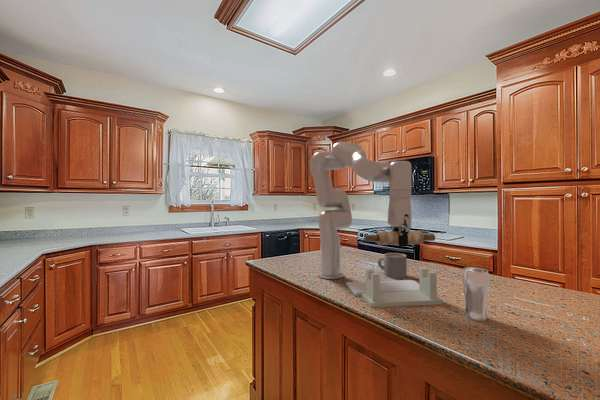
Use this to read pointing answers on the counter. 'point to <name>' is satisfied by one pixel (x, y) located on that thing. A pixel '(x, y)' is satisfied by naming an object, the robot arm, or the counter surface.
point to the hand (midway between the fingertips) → (399, 244)
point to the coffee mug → (394, 265)
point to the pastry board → (385, 286)
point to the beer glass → (475, 293)
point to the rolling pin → (393, 237)
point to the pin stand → (402, 298)
